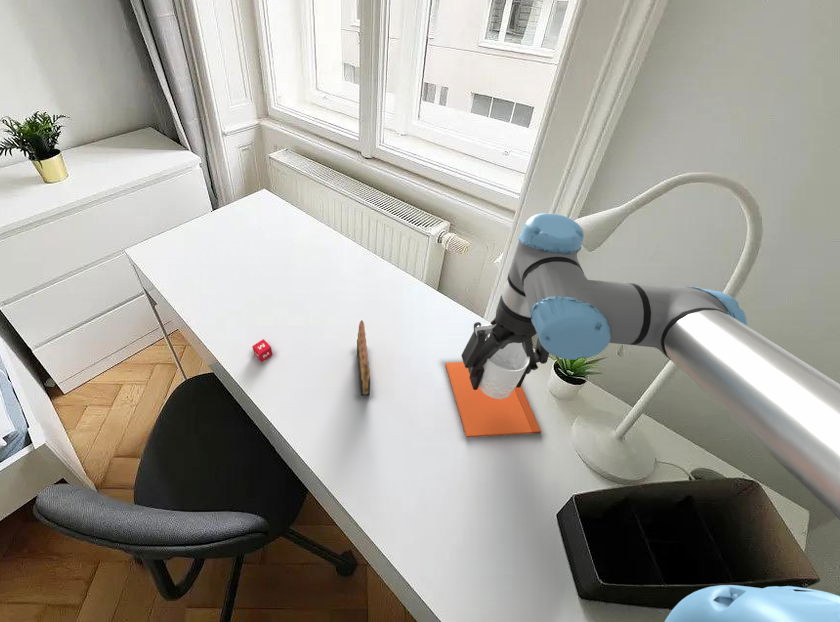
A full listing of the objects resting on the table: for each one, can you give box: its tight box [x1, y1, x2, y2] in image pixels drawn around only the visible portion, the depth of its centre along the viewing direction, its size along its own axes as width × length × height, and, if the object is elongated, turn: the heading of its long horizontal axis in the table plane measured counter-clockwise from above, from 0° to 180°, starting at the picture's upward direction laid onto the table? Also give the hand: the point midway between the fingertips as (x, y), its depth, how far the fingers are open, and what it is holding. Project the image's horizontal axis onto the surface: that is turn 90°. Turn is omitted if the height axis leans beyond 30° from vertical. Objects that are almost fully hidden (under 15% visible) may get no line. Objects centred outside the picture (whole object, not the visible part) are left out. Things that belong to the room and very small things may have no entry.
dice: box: [252, 338, 273, 363], centre depth 90 cm, size 3×3×3 cm
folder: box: [444, 361, 542, 438], centre depth 82 cm, size 16×14×1 cm
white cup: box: [479, 343, 530, 399], centre depth 76 cm, size 8×8×10 cm
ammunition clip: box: [356, 319, 371, 397], centre depth 83 cm, size 11×2×12 cm, turn 2°
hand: (494, 382), depth 79 cm, fingers closed on white cup, 8 cm apart
